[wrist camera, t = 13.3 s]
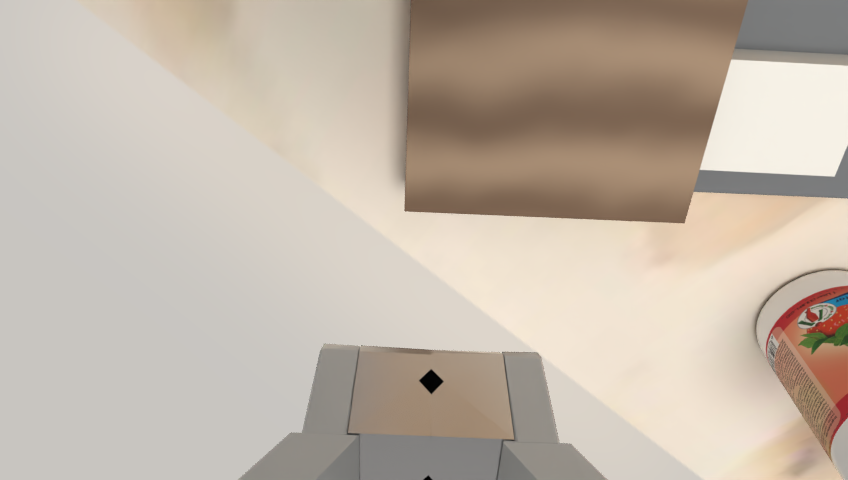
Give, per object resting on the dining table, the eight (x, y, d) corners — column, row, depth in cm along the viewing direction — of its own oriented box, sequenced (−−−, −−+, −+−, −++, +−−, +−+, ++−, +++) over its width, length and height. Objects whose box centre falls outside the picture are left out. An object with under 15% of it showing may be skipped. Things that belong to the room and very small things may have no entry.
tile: (710, 47, 40) (725, 59, 38) (856, 55, 40) (879, 67, 38) (681, 153, 44) (693, 169, 42) (815, 160, 44) (834, 176, 42)
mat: (735, -9, 39) (738, -8, 39) (1004, 4, 39) (1009, 5, 39) (681, 188, 46) (683, 191, 45) (910, 198, 46) (914, 201, 46)
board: (413, -34, 38) (411, -21, 35) (721, -19, 39) (749, -5, 35) (406, 183, 46) (404, 211, 42) (665, 194, 46) (684, 223, 43)
